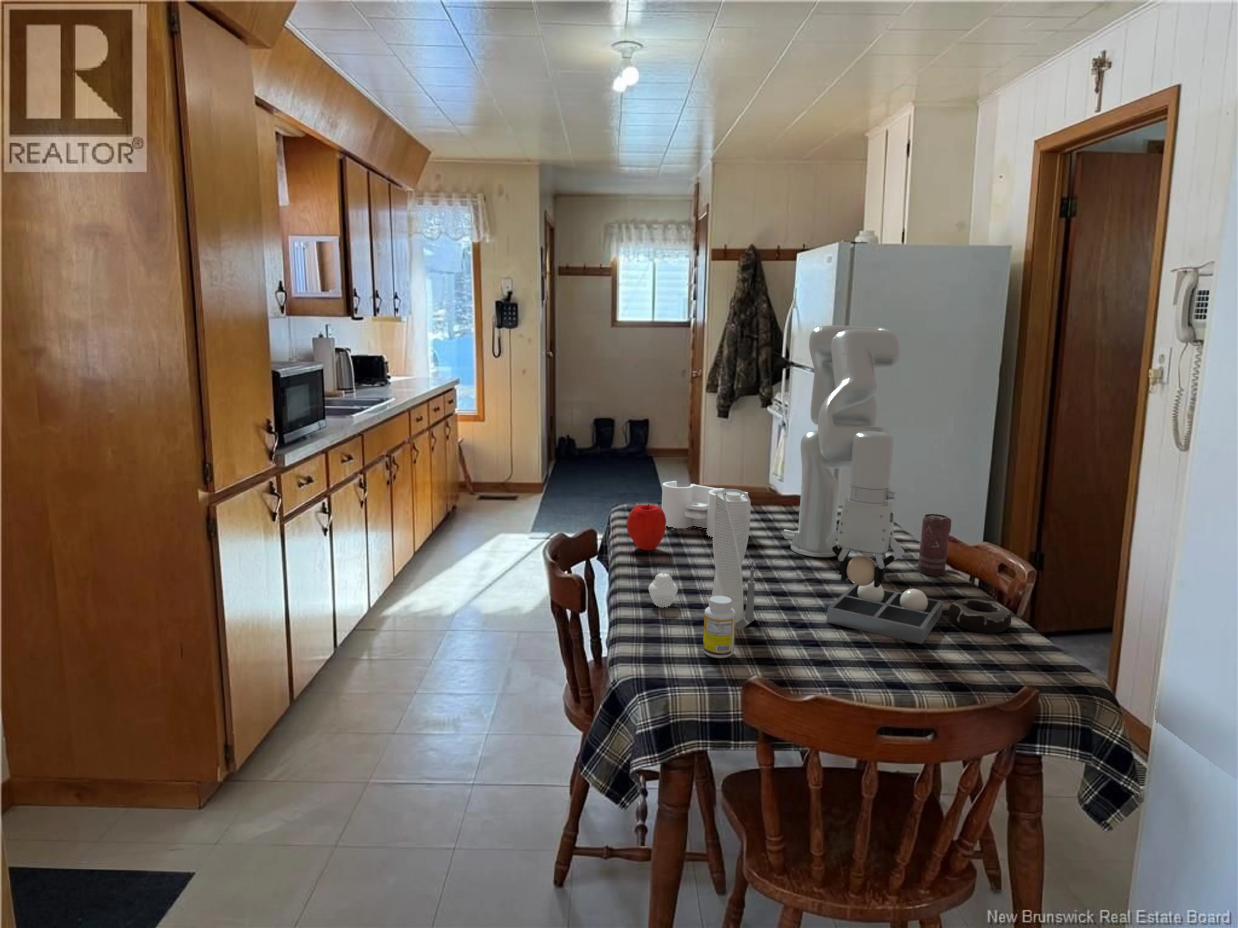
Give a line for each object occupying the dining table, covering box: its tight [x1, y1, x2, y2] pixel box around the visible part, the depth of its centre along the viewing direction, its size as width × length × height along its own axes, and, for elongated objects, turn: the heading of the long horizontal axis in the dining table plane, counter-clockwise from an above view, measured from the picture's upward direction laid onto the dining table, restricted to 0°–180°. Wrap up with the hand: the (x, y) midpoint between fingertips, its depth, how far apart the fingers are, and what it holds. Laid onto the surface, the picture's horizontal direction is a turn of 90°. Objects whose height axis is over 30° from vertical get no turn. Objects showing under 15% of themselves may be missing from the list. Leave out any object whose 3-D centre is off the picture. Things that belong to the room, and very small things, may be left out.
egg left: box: [857, 581, 884, 602], centre depth 171 cm, size 5×5×5 cm
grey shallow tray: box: [826, 583, 944, 645], centre depth 165 cm, size 18×18×3 cm
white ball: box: [900, 588, 928, 612], centre depth 166 cm, size 5×5×5 cm
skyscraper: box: [711, 488, 756, 631], centre depth 159 cm, size 8×8×28 cm
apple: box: [626, 503, 667, 551], centre depth 207 cm, size 10×10×12 cm
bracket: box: [661, 480, 749, 538], centre depth 226 cm, size 25×10×12 cm, turn 56°
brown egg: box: [846, 555, 877, 586], centre depth 162 cm, size 6×6×6 cm
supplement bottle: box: [702, 596, 736, 659], centre depth 146 cm, size 6×6×10 cm
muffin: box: [648, 572, 679, 608], centre depth 169 cm, size 6×6×7 cm
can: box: [917, 513, 952, 577], centre depth 194 cm, size 6×6×14 cm
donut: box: [947, 598, 1012, 634], centre depth 163 cm, size 12×12×4 cm
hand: (861, 581), depth 162 cm, fingers closed on brown egg, 5 cm apart
